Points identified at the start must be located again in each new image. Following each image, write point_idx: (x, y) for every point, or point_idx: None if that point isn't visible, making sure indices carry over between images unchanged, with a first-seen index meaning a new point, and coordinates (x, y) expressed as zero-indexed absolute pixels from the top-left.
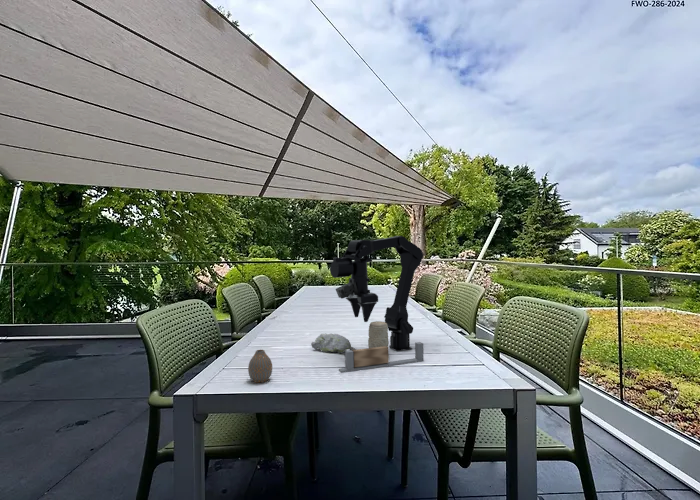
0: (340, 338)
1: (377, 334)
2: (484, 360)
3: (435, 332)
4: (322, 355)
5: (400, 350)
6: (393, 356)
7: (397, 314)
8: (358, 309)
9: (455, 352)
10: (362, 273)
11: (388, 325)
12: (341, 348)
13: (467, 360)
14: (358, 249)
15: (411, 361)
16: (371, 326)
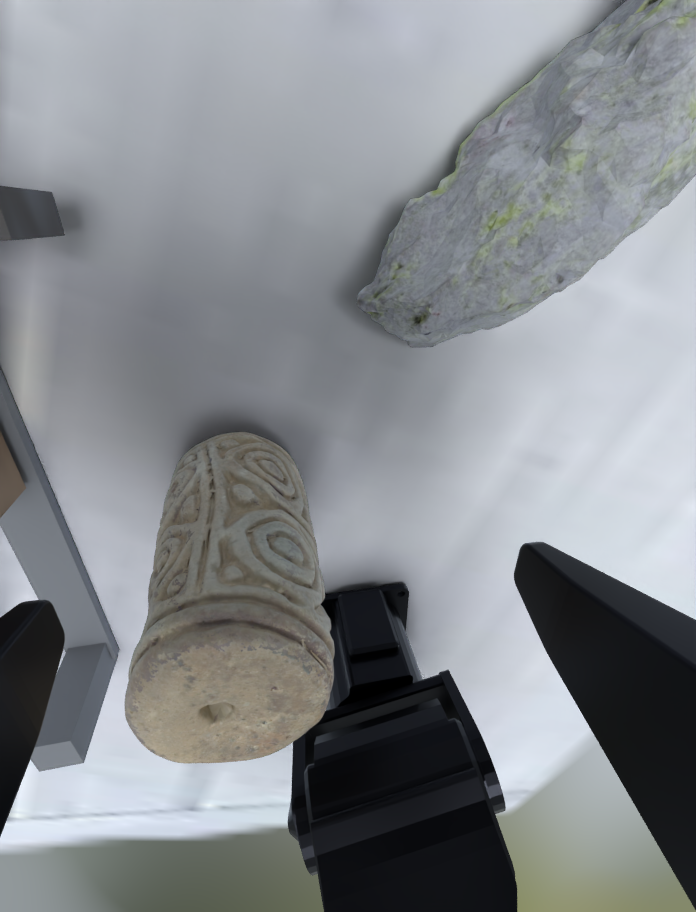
0: (511, 255)
1: (150, 591)
2: (58, 828)
3: (515, 771)
4: (444, 8)
5: None
6: None
7: (324, 904)
8: (601, 711)
9: (203, 778)
10: None
11: (413, 714)
12: (396, 228)
13: (67, 790)
14: None
15: None
16: (191, 616)
